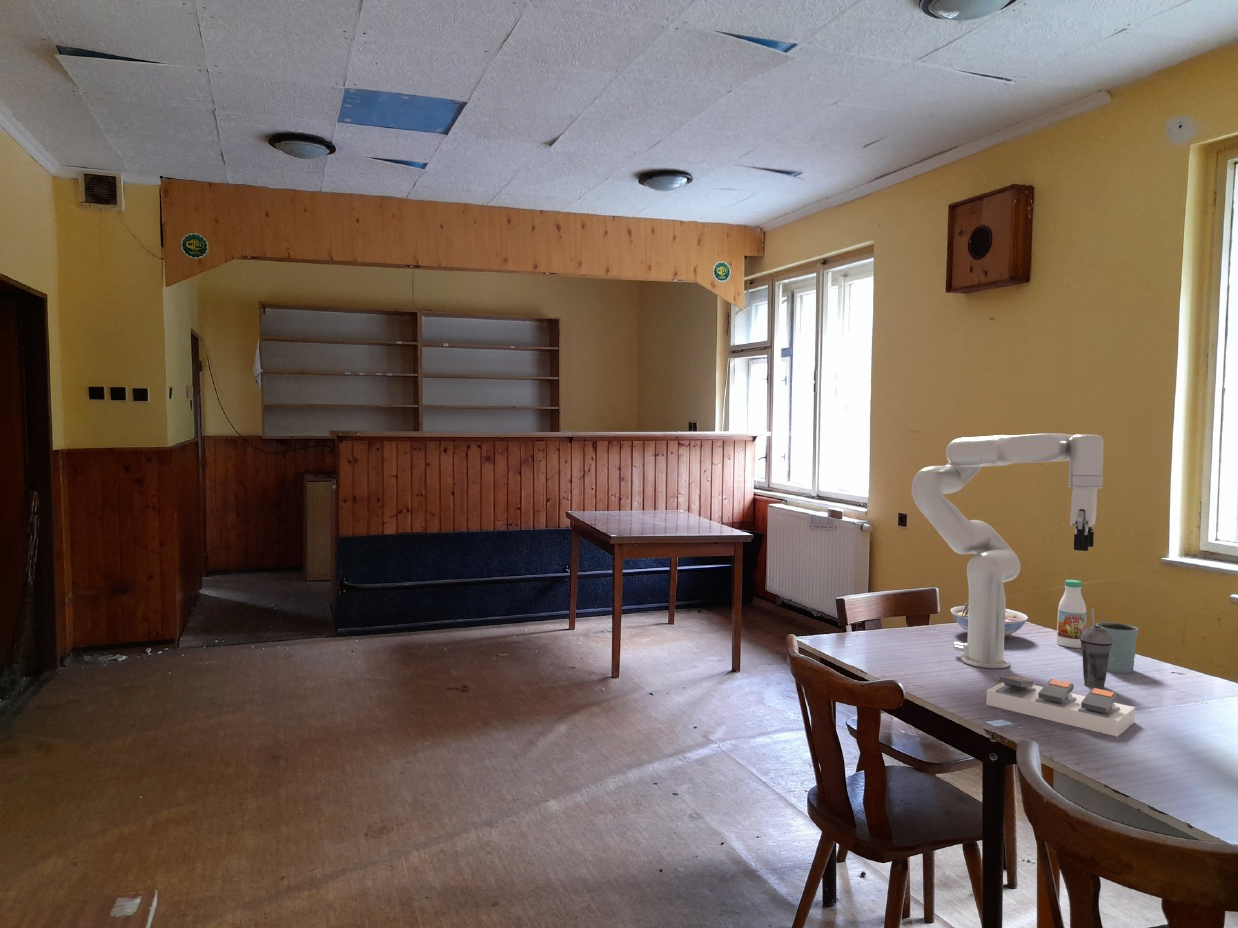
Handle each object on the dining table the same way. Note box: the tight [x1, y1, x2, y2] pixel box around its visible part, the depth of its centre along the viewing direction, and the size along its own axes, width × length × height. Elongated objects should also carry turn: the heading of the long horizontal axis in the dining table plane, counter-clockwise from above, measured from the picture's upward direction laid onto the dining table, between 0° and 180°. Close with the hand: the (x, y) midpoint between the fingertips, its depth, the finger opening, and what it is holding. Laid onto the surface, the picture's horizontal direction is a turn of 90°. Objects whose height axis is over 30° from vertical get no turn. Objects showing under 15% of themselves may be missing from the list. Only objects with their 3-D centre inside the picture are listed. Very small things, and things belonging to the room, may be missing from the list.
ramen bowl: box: [950, 600, 1029, 637], centre depth 269 cm, size 25×23×8 cm
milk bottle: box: [1056, 579, 1087, 649], centre depth 259 cm, size 8×8×20 cm
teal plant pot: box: [1095, 621, 1139, 674], centre depth 234 cm, size 10×10×12 cm
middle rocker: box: [1038, 678, 1075, 703], centre depth 195 cm, size 5×8×2 cm, turn 135°
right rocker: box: [1081, 688, 1118, 713], centre depth 188 cm, size 5×8×2 cm, turn 135°
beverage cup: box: [1080, 608, 1112, 689], centre depth 218 cm, size 7×7×20 cm
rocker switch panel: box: [985, 682, 1136, 738], centre depth 196 cm, size 28×13×4 cm, turn 45°
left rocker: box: [998, 676, 1034, 690], centre depth 201 cm, size 5×8×2 cm, turn 135°
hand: (1083, 548), depth 218 cm, fingers open, 9 cm apart
